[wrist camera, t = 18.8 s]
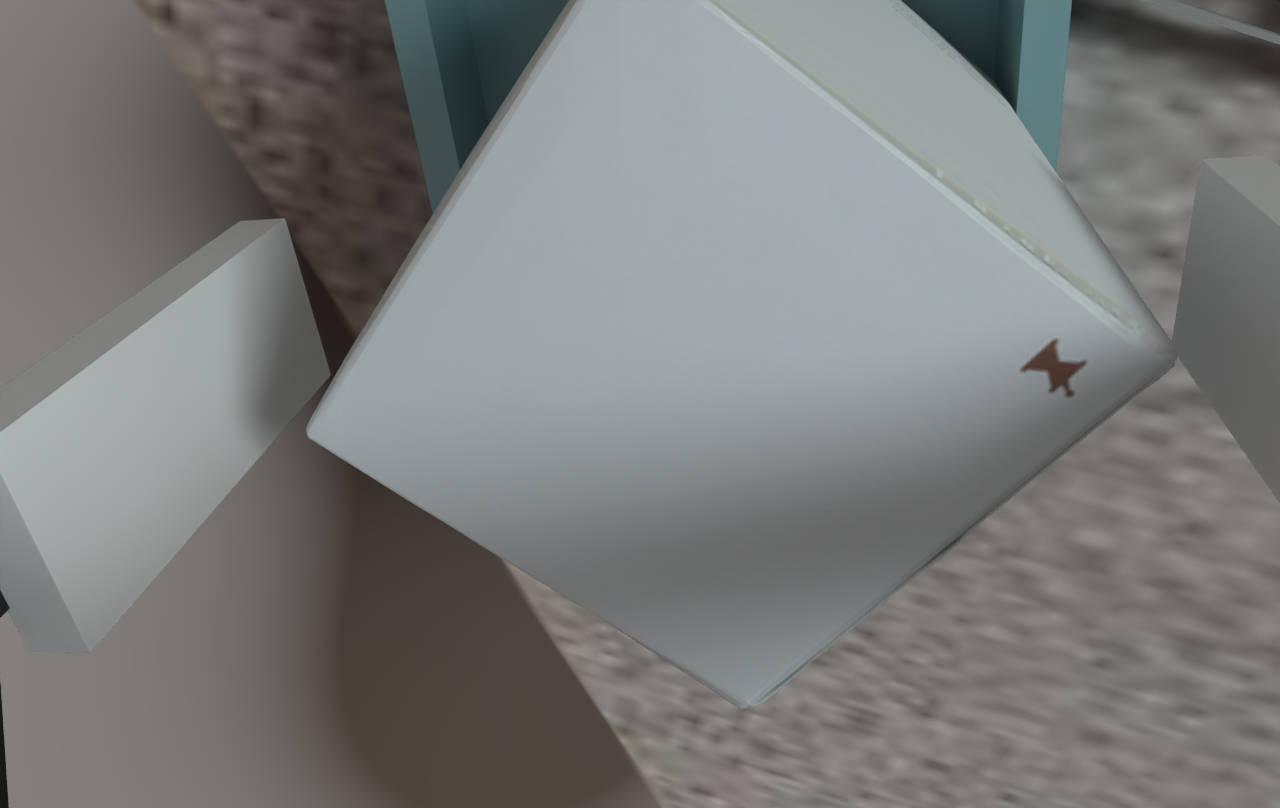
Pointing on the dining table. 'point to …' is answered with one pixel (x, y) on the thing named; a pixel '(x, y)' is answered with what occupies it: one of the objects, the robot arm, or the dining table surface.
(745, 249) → the supplement box
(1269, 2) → the dining table surface
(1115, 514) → the dining table surface
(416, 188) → the dining table surface
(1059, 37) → the tray
